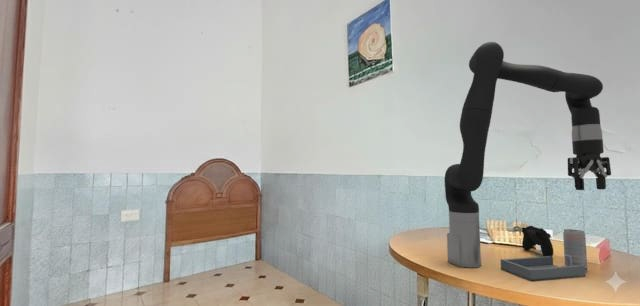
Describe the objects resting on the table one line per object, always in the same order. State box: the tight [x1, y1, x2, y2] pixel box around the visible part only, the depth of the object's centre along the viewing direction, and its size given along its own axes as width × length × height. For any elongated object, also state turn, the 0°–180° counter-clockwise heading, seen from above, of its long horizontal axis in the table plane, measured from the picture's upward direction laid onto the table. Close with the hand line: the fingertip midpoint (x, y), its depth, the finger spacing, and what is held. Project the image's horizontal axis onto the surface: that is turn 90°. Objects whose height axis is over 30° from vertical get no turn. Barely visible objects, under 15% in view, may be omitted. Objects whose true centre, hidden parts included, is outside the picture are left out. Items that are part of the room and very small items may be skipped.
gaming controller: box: [521, 225, 554, 257], centre depth 114 cm, size 14×6×10 cm, turn 179°
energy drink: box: [562, 228, 588, 273], centre depth 96 cm, size 5×5×12 cm
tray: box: [500, 255, 587, 282], centre depth 93 cm, size 18×11×3 cm, turn 102°
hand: (590, 189), depth 99 cm, fingers open, 8 cm apart
